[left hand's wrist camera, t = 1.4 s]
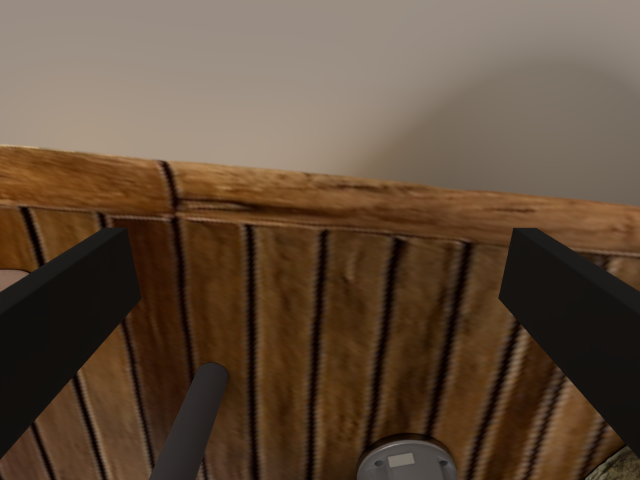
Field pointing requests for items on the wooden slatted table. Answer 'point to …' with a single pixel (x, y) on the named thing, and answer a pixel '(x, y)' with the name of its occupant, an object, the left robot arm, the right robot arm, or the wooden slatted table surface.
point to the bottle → (192, 426)
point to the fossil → (618, 467)
